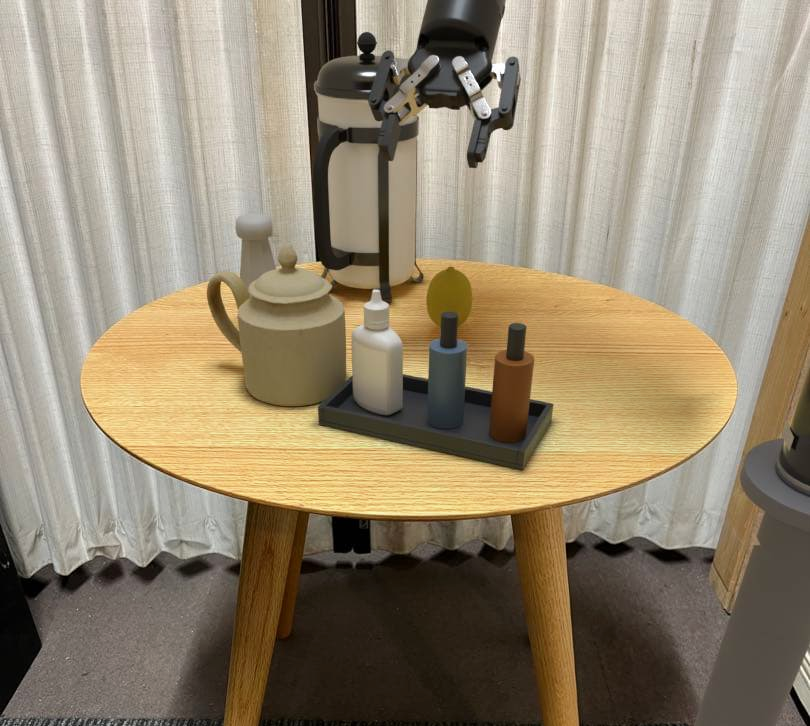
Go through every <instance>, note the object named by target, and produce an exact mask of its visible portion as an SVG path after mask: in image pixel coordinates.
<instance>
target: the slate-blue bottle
mask: <svg viewBox="0 0 810 726" xmlns="http://www.w3.org/2000/svg"><path fill="white" fill-rule="evenodd" d="M458 330H459V327H458V314H457V313H456V312H451V311H447V312H443V313H442V314H441V327H440V331H439V332H440V333H439V338H436V339H434V340H432V341H430V342H429V344H428V375H427V376H428V377H427V379H428V410H427V421H428V423H429V424H430V425H432V426H433V427H436V428H440V429H452V428H456V427H458V426H460V425H461V424H462V423H463V416H464V399H465V386H466V380H467V379H466V378H467V365H468V343H467V342H465V341H464V340H462V339H460V338H458V335H459V334H458V333H459V332H458Z"/></svg>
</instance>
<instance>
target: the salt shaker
mask: <svg viewBox="0 0 810 726" xmlns="http://www.w3.org/2000/svg"><path fill="white" fill-rule="evenodd" d="M234 228H235V234H236V236H237V237H238V238H239V239H241V251H240V268H239V277H240V278H241V279H242V281H243V282H244V284H245V286H246V288H247V290H248V288H249V286H250V284H251V283H252V282H253V281H255V280H256V279H258V278H259V277H260V276H261V275H263V274H264V273H266V272H268V271H271V270H274V269H277V267H276V264H275V263H276V262H275V259H274V255H273V251H272V248H271V244H270V240H269V238H271V237H272V236H273V233H274V232H273V230H274V228H273V221H272V218H271V217H270V216H269V215H268V214H265V213H260V212H247V213H244V214H243V213H242V214H240V215H239V216H237V218H236V219H235V227H234ZM248 294H249V297H250V298H252V295H250V293H249V291H248Z"/></svg>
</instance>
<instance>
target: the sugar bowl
mask: <svg viewBox="0 0 810 726" xmlns="http://www.w3.org/2000/svg"><path fill="white" fill-rule="evenodd" d="M277 261H278V263H279V264H280V266H281V267H279V268H276V269H274V270H271V271H268V272H266V273H264V274H263V275H261V276H260V277H259V278H258V279H256V280H255V281H253V282H252V283H251V284H250V286H249V288H248V290H247V288H246V286H245V284H244V282H243V281H242V279H241V278H240V275H238V274H237V273H235V272H234V271H229V270H221V271H218V272H216V273H215V274H214V275H213V276H211V278H210V279H209V280H208V283H207V286H206V287H207V288H206V299H207V305H208V307H209V310H210V313H211V316H212V318H213V320H214V322H215V324H216V326H217V328H218V330H219V331H220V332H221V334H222V336H224V338H226V339H227V341H228V342H229V343H230V344H231V345H232V346H233V347H234V348H236V349H237V350H238V351H239V353H241V361H242V366H243V375H244V382H245V387H246V390H247V392H248V393H249V394H250V395H251V396H252V397H253V398H255V399H256V400H258V401H260V402H263V403H267V404H270V405H274V406H283V407H302V406H311V405H316V404H321V403H322V402H324V401H325V400H326V399H327V398H328V397H329V396H330V395H331V394H332V393H333V392H334V391H336V390H337V389H338V388H339V387H340V386H341V385H342V384H343V383H344V382H345V381H347V329H346V328H347V327H346V311H345V306H344V304H343V302H342V301H340V300H339V299H338V298H336V297H335V296H332V295H331V294H329V292H330V291H331V290H332V289H333V287H332V285H331V284H330V281H329V280H327V278H325V279H324V278H322V277H321V276H320V275H319V274H318V273H316V272H315V271H313V270H310V269H308V268H303V267H296V266H297V262H298V254H297V252H296V250H295V249H294V247H292V245H291V244H289V243H285V244H283V245H282V246H281V248H280V250H279V251H278V257H277ZM222 283H224V284H225V285H226V286H227V287H228V288H229V290H230V291H231V293H232V295H233V298H234V301H235V304H236V307H237V323H238V324H237V325H238V328H237V327H236V326H235V324H234V323H233V321H232V320H231V318H230V317H229V315H228V312H227V311H226V308H225V305H224V302H223V298H222V293H221V292H222V291H221V290H222V289H221V287H222V286H221V285H222ZM248 291H249V293H250V295H252V298H250V297H249V294H248Z"/></svg>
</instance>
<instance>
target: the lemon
mask: <svg viewBox="0 0 810 726" xmlns="http://www.w3.org/2000/svg"><path fill="white" fill-rule="evenodd" d="M473 296H474V295H473V289H472V285H471V282H470V280H469V278H468V277H467V276H466V275H465V274H464V273H463V272H462V271H460V270H458V269H455V267H454V266H448V267H447V268H445V269H442V270H440V271H439V272H438V273H436V274H435V275H434V276H433V277H432V279H431V280H430V282H429V284H428V289H427V293H426V310H427V313H428V317H429V318H430V320H431V321H432V322H433V323H434V325H436V326H438V327H439V328H441V314H442V313H443V312H447V311H451V312H456V313H457V314H458V328H459V327H461V326H462V325H463V324H464V323H466V321H468V318H469V317H470V314H471V312H472V308H473V299H474V298H473Z"/></svg>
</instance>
